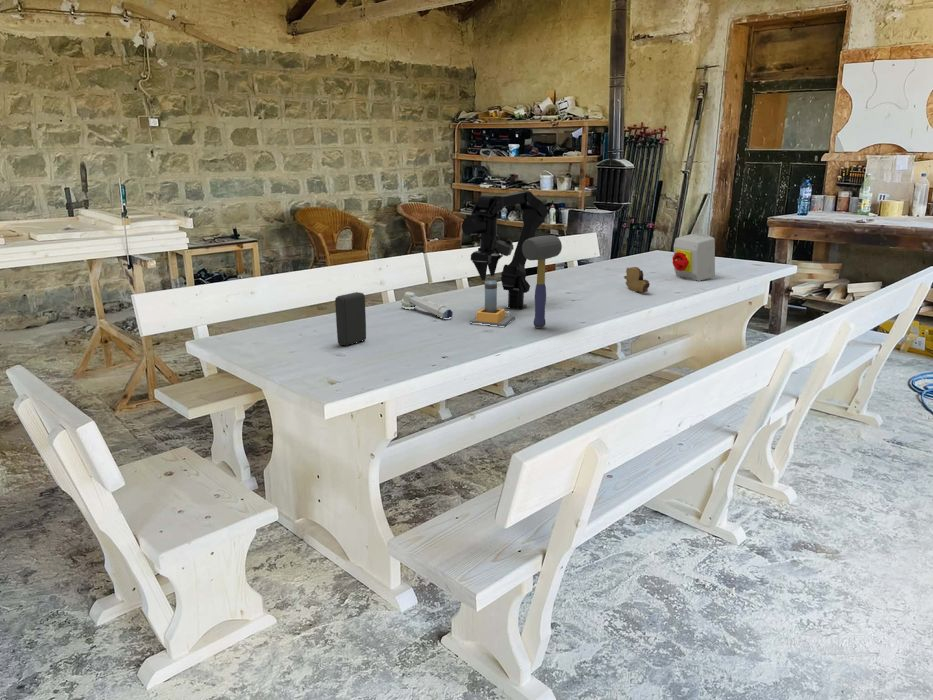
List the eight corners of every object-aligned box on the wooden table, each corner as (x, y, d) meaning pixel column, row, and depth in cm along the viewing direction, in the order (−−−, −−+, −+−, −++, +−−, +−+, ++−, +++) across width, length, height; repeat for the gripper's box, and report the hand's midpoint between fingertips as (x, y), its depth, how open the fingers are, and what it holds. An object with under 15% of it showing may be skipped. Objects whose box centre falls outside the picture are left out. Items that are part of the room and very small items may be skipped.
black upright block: (359, 338, 215) (357, 291, 210) (368, 340, 212) (366, 292, 208) (336, 345, 208) (333, 296, 204) (345, 347, 206) (342, 297, 201)
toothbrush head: (443, 310, 235) (398, 289, 251) (441, 328, 237) (397, 306, 254) (454, 308, 238) (410, 287, 255) (453, 326, 240) (409, 304, 257)
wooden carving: (652, 295, 276) (654, 270, 273) (643, 296, 274) (645, 271, 271) (628, 287, 291) (630, 263, 288) (619, 288, 289) (621, 264, 286)
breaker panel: (482, 316, 242) (482, 304, 241) (514, 319, 238) (515, 307, 237) (469, 324, 232) (469, 311, 231) (503, 327, 228) (504, 315, 226)
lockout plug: (483, 318, 235) (483, 280, 231) (495, 317, 235) (495, 279, 231) (485, 321, 231) (485, 282, 227) (497, 320, 231) (498, 282, 227)
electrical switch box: (665, 281, 314) (664, 237, 307) (691, 274, 319) (690, 231, 312) (688, 287, 301) (687, 242, 294) (715, 279, 306) (714, 235, 299)
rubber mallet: (543, 322, 234) (546, 233, 225) (560, 326, 229) (564, 235, 220) (517, 329, 226) (520, 236, 217) (535, 333, 221) (538, 238, 212)
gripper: (502, 237, 225) (501, 284, 230) (519, 230, 242) (518, 275, 246) (470, 235, 229) (470, 282, 234) (489, 229, 246) (488, 272, 250)
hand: (488, 277), depth 241 cm, fingers open, 9 cm apart
